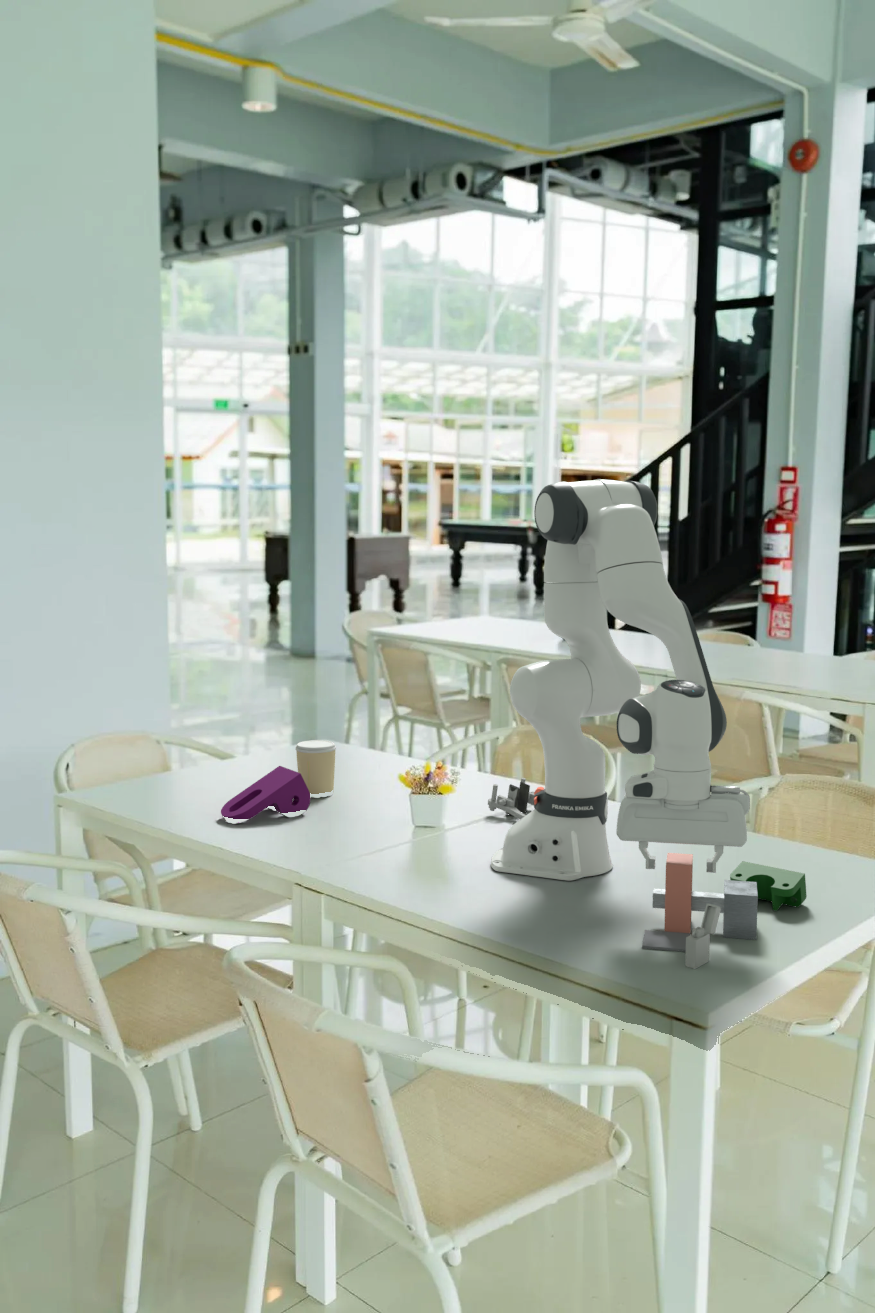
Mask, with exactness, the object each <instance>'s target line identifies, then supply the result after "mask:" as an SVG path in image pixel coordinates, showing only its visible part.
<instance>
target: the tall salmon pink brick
mask: <svg viewBox="0 0 875 1313" xmlns="http://www.w3.org/2000/svg"><path fill="white" fill-rule="evenodd" d="M693 861H694V854H692V853H679V852H678V853H677V852H676V853H675V852H667V854H666V861H665V884H664V885H665V888H664V889H665V909H664V930H663V931H667V932H680V933H690V934H691V933H692V931H691V930H692V929H691V924H692V912H693V911H691V894H692V891H693V869H694V868H693V867H694V866H693V865H694V862H693Z"/></svg>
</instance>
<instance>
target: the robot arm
mask: <svg viewBox="0 0 875 1313" xmlns="http://www.w3.org/2000/svg"><path fill="white" fill-rule="evenodd" d="M657 517H658V503H657V500H656V496H655V494H654V491H653V490H652V488H651V487H650V486H648V485H647V484H644V483H642V482H639V481H633V480H625V481H621V480H614V479H601V478H597V479H593V480H581V481H579V480H578V481H571V482H567V481H559V482H554V483H551V484H548V485H546V486H544V487H543V488H542V489H541V490H540V492H539V493H538V495H537V498H536V500H535V504H534V523H535V525H536V529H537V531H538V532H539V533H540V535H541V536H542V537H543V538H544V539H545V540H547V542H546V548H545V555H544V565H543V566H544V568H543V582H544V583H543V602H544V606H543V607H544V608H543V611H544V623H545V624H546V627H547V628H548V630H550V632H551V633H553V634H554V635H556V636H558V637H559V638H562V639H563V640H565V642H566V643H567V646H568V649H569V652H570V658H560V659H559V658H558V659H546V660H544V659H543V660H540V661H537V662H532V663H529V664H526V665H523V666H520V667H519V668H517V670H516V671H515V672H514V674H513V676H512V679H511V681H510V685H509V697H510V701H511V705H512V706H513V708H514V709H515V711H516V713H517V714H518V715H519V716H521V717H522V718H523V719H525V720H526V721H527V722H528V723H529V724H530V725H531V726H532V728H533V729H534V730H535V732H536V734H537V735H538V738H539V740H540V743H541V746H542V752H543V758H544V759H543V762H544V764H543V765H544V786H538V787H536V789H535V790H534V791H533V792H534V805H533V808H534V809H533V810H532V811H530V812H529V813H526V814H525V815H526V816H524V817H523V818H522V819H518V820H517V821H516V822H515V823H514V824H512V825H511V826H510V827H509V829H508V830H507V832H506V833H505V834H506V835H505V837H504V840H503V846H502V848H500V849H498V850H496V851H495V852H494V854H492V856H491V861H490V867H491V868H492V870H494V871H496V872H500V873H509V874H515V875H516V874H517V875H524V876H531V877H538V878H546V879H554V880H561V881H569V882H570V881H575V880H576V881H577V880H579V879H581V878H584V877H585V878H586V877H592V876H598V875H602V874H606V873H608V872H610V871H611V870H612V868H613V866H614V864H613V862H612V858H611V856H610V855H611V854H610V849H609V844H608V837H607V835H608V834H607V826H606V825H607V824H606V823H607V821H608V812H609V810H608V809H609V806H608V805H609V804H608V802H609V801H608V800H609V799H608V792H607V790H606V755H605V754H606V753H605V751H604V750H603V748H602V747H601V745H600V744H599V743H598V742H597V741H595V740H593V739H592V738H590V737H588V736H586V735H585V734H583V731H582V726H581V725H582V724H581V719H582V718H591V717H601V716H602V717H603V716H611V715H614V714H617V718H616V733H617V738H618V740H619V742H620V743H621V745H622V746H623V747H624V748H625V749H626V750H627V751H629V753H631V754H635V755H639V756H650V755H653V757H654V762H653V770H651V771H646V772H643V773H639V774H638V773H637V774H636V775H635V774H634V775H632V776H630V777H629V778H628V779H627V780H626V782H625V785H624V788H625V789H624V791H625V794H624V795H623V798H622V800H621V802H620V805H619V809H618V812H617V813H618V814H617V821H616V836H617V838H618V839H619V840H620V841H623V842H638V849H639V851H640V853H641V854H642V856H643V858H644V859H645V869H646V870H656V855H651V854H650V852H649V850H648V848H649V847H648V846H649V843H661V844H678V845H679V844H680V845H695V846H696V845H698V846H713V847H714V848H713V849H714V854H713V856H712V858H707V859H706V867H705V868H706V873H709V874H710V873H712V874H716V873H717V863H718V862H719V860H720V858H721V857H722V856H723V854H724V847H738V848H741V847H743V846H744V845H745V844H746V843H747V842H748V833H747V832H748V829H747V819H746V815H747V814H748V813H749V811H750V809H751V808H750V807H751V798H750V795H749V794H748V792H746V791H745V790H744V789H741V787H740V786H724V785H712V784H711V778H712V774H711V773H712V765H711V759H710V755H709V754H710V753H709V752H712V751H713V750H714V749H715V748H716V747H717V746H718V745H719V743H721V741H722V740H723V737H724V736H725V733H726V731H727V723H728V722H727V721H728V720H727V714H726V711H725V708H724V706H723V704H722V702H721V700H720V698H719V696H718V694H717V692H716V689H715V687H714V685H713V681H712V677H711V675H710V671H709V668H708V665H707V661H706V658H705V654H704V651H703V648H702V646H701V642H700V639H699V635H698V633H697V629H696V626H695V624H694V623H695V622H694V620H693V617H692V615H691V612H690V610H689V607H688V606H687V604H686V603H685V602H684V601H683V600H682V599H680V598H678V596H677V595H676V594H675V592H674V590H673V589H672V587H671V585H670V582H669V581H668V579H667V576H666V573H665V569H664V562H663V557H662V551H661V546H660V543H659V539H658V535H657V532H656V529H655V524H656V522H657V519H658V518H657ZM607 612H608V613H609V614H610V615H611V616H613V617H614V618H616V620H619V621H620V622H622V623H624V624H627V625H629V626H631V627H634V628H638V629H640V630H643V631H646V632H648V634H649V633H650V634H651V635H652V636H655V637H656V638H657V639H659V641H661V643H663V645H664V646H665V648H666V649H667V652H668V655H669V658H670V662H671V665H672V668H673V672H674V674H675V678H676V679H669V680H665V681H662V682H661V683H659V685H658V686H657V688H656V689H655V690H653V691H652V692H649V693H647V694H646V693H645V694H643V695H641V690H642V689H641V688H642V681H641V676H640V674H639V671H638V669H637V667H636V666H635V665H634V664H633V663H632V662H631V661H630V660H629V659H627V658H626V657H625V656H624V655H623V654H622V653H621V651H620V650H619V648H618V647H617V645H616V643H615V642H614V640H613V637H612V635H611V632H610V629H609V625H608V617H607Z"/></svg>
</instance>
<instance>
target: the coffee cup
mask: <svg viewBox="0 0 875 1313" xmlns="http://www.w3.org/2000/svg"><path fill="white" fill-rule="evenodd" d="M336 750H337V746H336V744H335V742H333V741H330V740H326V739H323V740H322V739H321V740H320V739H312V740H303V741H299V742H298V743H296V746H295V751H296V762H297V764H296V766H297V772H298V773H301V775H302V777H303V779H304V782H305V784H306V786H307V788H308V790H309V792H310V793H311V794H319V793H325V792H331V791H332V790H333V791H334V784H335V771H336V770H335V768H336Z"/></svg>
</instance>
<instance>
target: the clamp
mask: <svg viewBox="0 0 875 1313" xmlns="http://www.w3.org/2000/svg"><path fill="white" fill-rule="evenodd" d="M729 879H730V880H733V881H748V882H756V883H757V893H758V900H762V899H763V901H767V902H771V901H772V903H771V905H772V911H773V910H774V912H777V911H778V910H779V909H780V908H781V907H782V905H784V904H787V905H786V906H789V905H790V907H793V906H796V907H795V908H799V907H801V906H802V904H803V903H804V902H805V901H806V900H807V896H808V895H807V883H806V881H807V880H806V873H803V872H799V871H794V870H789V869H784V868H783V869H782V868H779V867H775V866H770V865H769V866H768V865H764V864H759V863H754V862H749V861H744V860H743V861H741V862H740V863H739V864H738V865H737V866H736V868H735V869H733V871H732V872H731V873H729Z"/></svg>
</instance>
